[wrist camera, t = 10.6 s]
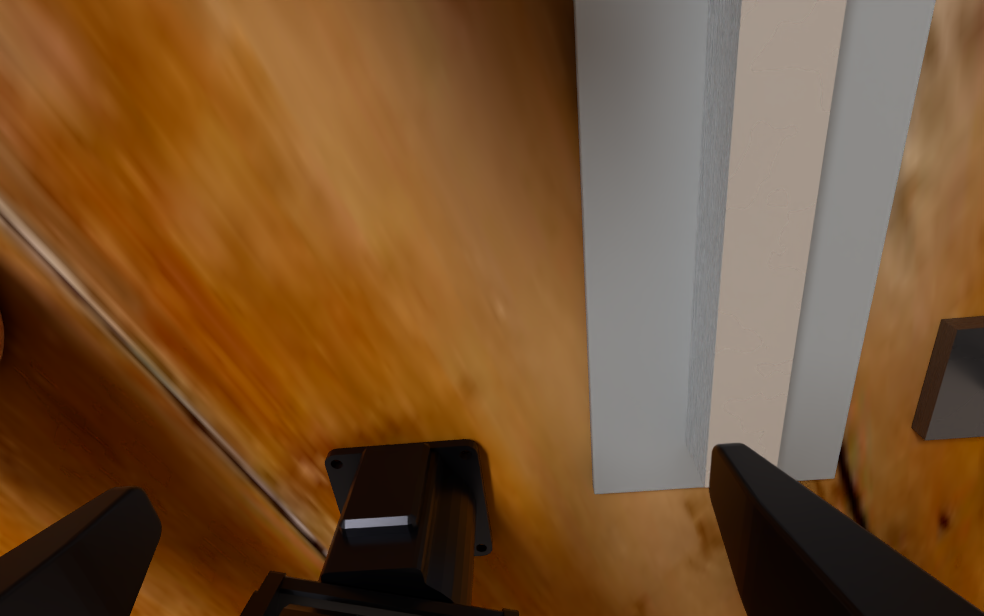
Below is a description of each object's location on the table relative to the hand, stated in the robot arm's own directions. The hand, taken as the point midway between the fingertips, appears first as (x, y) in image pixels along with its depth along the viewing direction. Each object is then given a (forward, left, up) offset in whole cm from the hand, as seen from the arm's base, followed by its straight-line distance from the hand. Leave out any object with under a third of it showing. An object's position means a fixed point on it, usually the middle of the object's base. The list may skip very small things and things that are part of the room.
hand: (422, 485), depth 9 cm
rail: (+2, -9, -12) cm, 15 cm away
